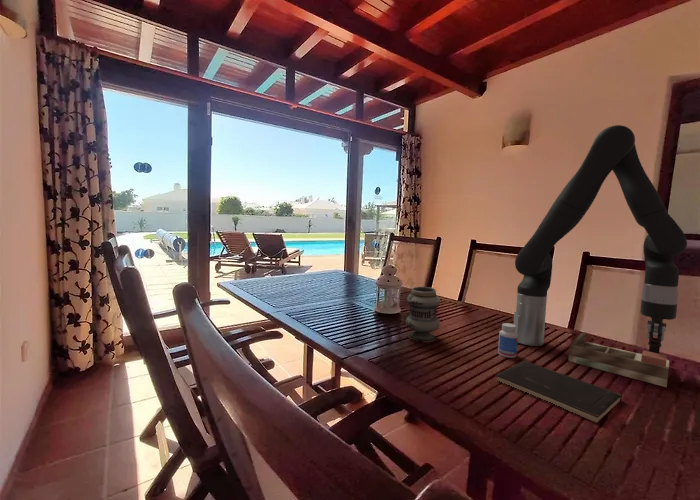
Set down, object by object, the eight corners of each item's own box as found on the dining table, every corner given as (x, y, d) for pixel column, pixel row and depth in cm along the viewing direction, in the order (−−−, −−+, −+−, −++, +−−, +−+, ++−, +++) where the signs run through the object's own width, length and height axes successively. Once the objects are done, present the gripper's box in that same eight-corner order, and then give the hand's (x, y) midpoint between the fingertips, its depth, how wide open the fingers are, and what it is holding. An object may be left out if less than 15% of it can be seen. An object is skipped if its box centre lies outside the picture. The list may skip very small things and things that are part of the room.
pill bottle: (518, 359, 103) (520, 328, 102) (500, 357, 104) (502, 327, 103) (513, 352, 108) (515, 323, 108) (496, 350, 110) (498, 321, 109)
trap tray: (568, 361, 102) (569, 345, 102) (580, 346, 115) (582, 332, 115) (666, 387, 87) (668, 368, 86) (668, 366, 100) (670, 350, 99)
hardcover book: (597, 426, 70) (597, 416, 70) (494, 382, 89) (495, 374, 89) (621, 402, 80) (622, 393, 80) (524, 367, 98) (525, 360, 98)
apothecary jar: (403, 341, 116) (405, 290, 114) (406, 330, 128) (407, 284, 126) (439, 345, 113) (441, 293, 112) (438, 333, 125) (440, 286, 123)
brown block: (640, 368, 93) (641, 355, 93) (641, 363, 97) (643, 350, 96) (664, 374, 90) (666, 360, 89) (665, 369, 93) (666, 355, 93)
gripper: (677, 306, 88) (671, 370, 89) (677, 298, 97) (671, 356, 99) (639, 301, 93) (634, 361, 94) (643, 294, 102) (638, 349, 104)
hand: (653, 358), depth 96 cm, fingers closed
